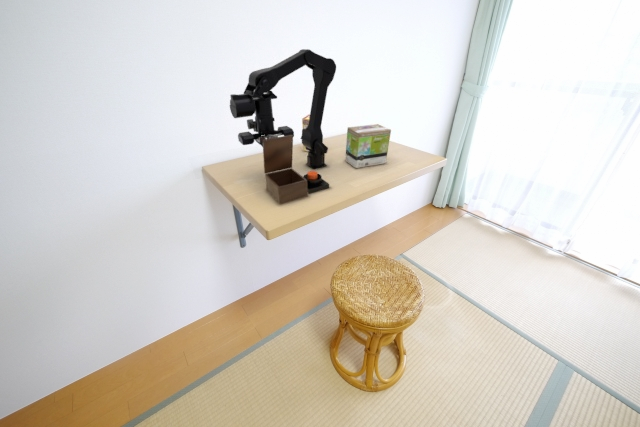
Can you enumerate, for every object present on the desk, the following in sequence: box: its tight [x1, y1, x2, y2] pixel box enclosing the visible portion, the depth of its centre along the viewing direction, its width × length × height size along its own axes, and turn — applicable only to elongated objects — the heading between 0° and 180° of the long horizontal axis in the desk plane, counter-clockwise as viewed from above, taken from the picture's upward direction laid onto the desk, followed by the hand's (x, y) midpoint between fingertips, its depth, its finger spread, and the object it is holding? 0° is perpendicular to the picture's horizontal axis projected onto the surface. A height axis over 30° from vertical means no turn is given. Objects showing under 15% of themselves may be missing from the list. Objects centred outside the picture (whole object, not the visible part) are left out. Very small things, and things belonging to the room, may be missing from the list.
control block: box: [302, 173, 330, 195], centre depth 93 cm, size 10×8×4 cm
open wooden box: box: [264, 167, 309, 205], centre depth 88 cm, size 12×10×6 cm
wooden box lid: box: [262, 135, 294, 174], centre depth 86 cm, size 12×10×1 cm
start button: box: [306, 170, 318, 179], centre depth 92 cm, size 4×4×2 cm
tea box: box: [344, 123, 392, 169], centre depth 109 cm, size 15×10×15 cm, turn 114°
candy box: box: [301, 114, 310, 152], centre depth 124 cm, size 9×4×15 cm, turn 162°
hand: (269, 158), depth 95 cm, fingers closed
